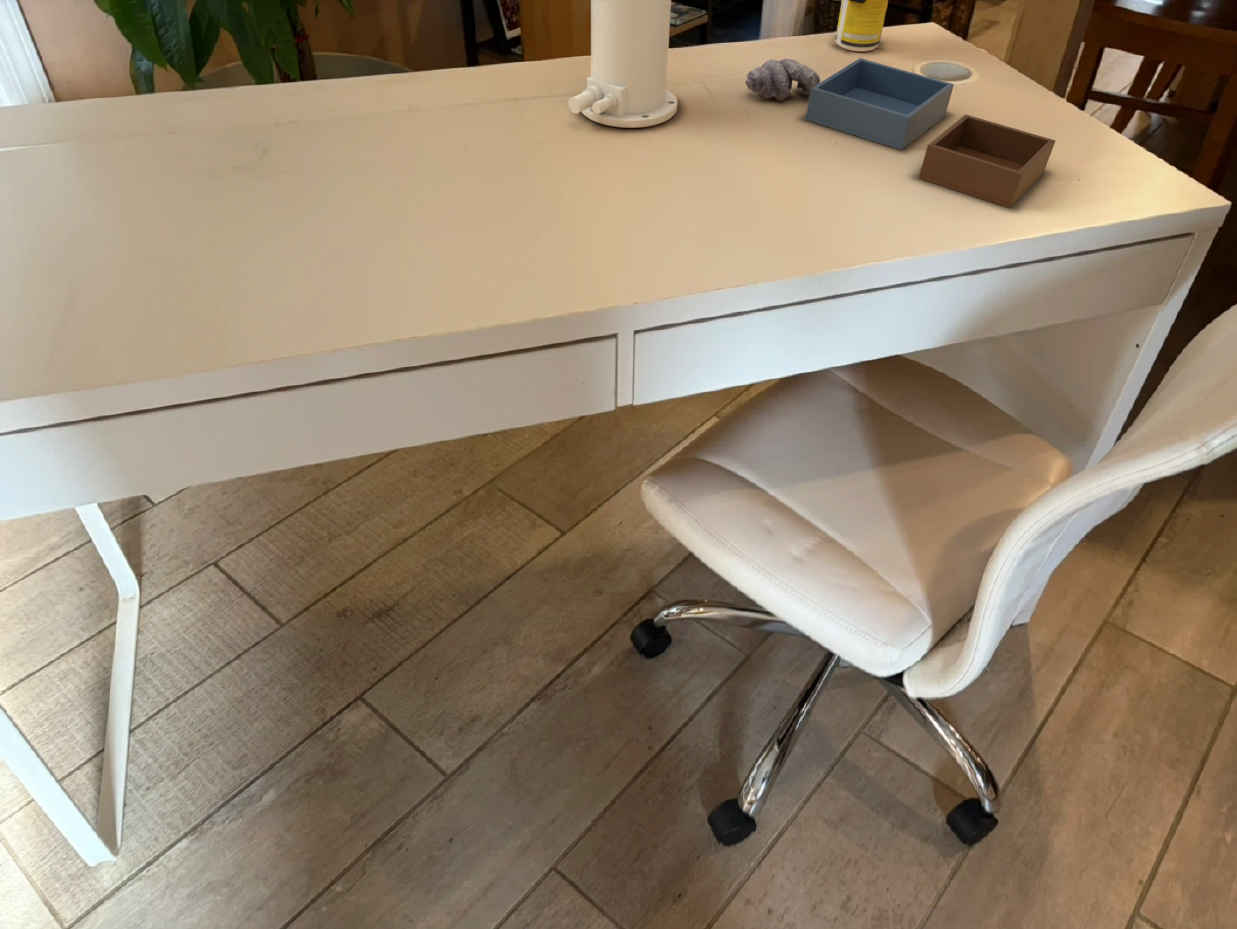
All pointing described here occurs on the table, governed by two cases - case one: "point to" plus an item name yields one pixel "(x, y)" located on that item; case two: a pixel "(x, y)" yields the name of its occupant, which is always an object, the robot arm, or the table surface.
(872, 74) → the blue bin
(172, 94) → the table surface
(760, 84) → the grey lumpy piece
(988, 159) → the brown bin
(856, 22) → the pill bottle
